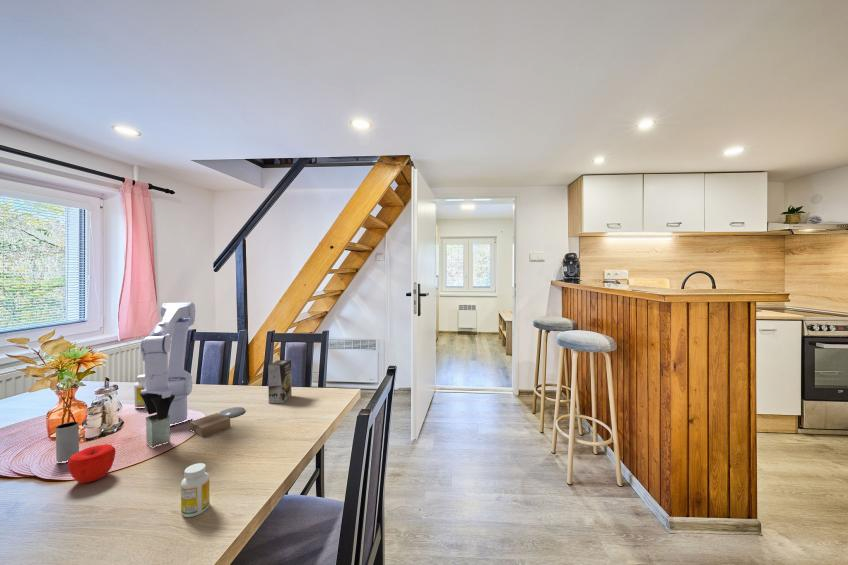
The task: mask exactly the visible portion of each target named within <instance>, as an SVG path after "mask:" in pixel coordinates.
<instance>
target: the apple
mask: <svg viewBox="0 0 848 565" xmlns="http://www.w3.org/2000/svg"><path fill="white" fill-rule="evenodd" d="M115 458H116V447H115V446H113V445H112V444H109V443H106V444H99V445H94V446H89V447H85V448H83V449H82V450H79V452H78V453H76V454H74V455H72V456H71V457H70V459H69V460H68V463H67V470H68V472H69V474H70V475H71V477H72V478H73V479H74V481H76V482H77V483H79V484H86V483H91V482H94V481H98V480H100V479H102V478H104V477H105V476H107V474H108V473H109V472H110V470H111V469H112V467H113V463H114V461H115Z"/></svg>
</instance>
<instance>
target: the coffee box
mask: <svg viewBox="0 0 848 565" xmlns="http://www.w3.org/2000/svg"><path fill="white" fill-rule="evenodd" d="M267 367H268V371H267V373H268V374H267V375H268V376H267V378H268V403H269V404H283V403H285V402H286V401H287V400H288V399H290V397H292V394H293V393H292V360H291V359H283V360H281V359H279V360H276V361H273V362H272V363H269V364H268V365H267Z"/></svg>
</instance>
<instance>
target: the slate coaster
mask: <svg viewBox="0 0 848 565" xmlns="http://www.w3.org/2000/svg"><path fill="white" fill-rule="evenodd" d="M218 413H219V414H221V415H223V416H226V417H228V418H230V419H232V418H236V417H239V416H241V415H243V414H244V413H246V409H245V408H244V407H241V406H236V407H230V408H226V409H223V410H221V411H219V412H218Z"/></svg>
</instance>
